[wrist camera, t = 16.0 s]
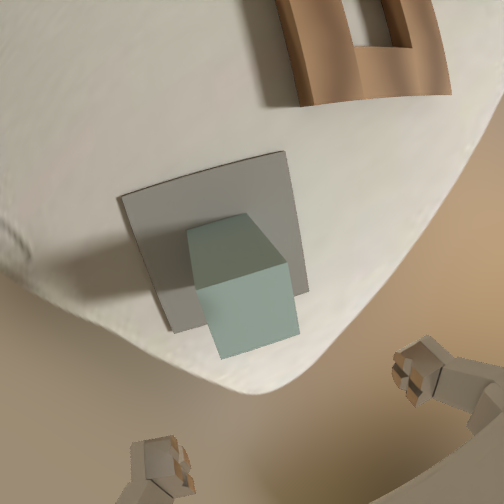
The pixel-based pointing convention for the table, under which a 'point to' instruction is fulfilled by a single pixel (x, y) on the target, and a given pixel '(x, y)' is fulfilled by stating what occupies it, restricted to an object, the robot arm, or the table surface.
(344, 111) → the table surface
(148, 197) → the rubber mat
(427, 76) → the plug dock
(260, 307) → the square plug
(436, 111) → the table surface
